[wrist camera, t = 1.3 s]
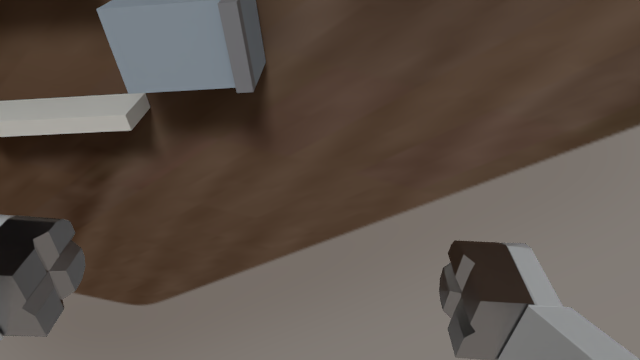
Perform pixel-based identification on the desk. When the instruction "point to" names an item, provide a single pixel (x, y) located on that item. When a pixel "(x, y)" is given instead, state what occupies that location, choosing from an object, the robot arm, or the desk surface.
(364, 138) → the desk surface
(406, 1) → the desk surface
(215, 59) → the grey-blue box
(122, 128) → the bay
